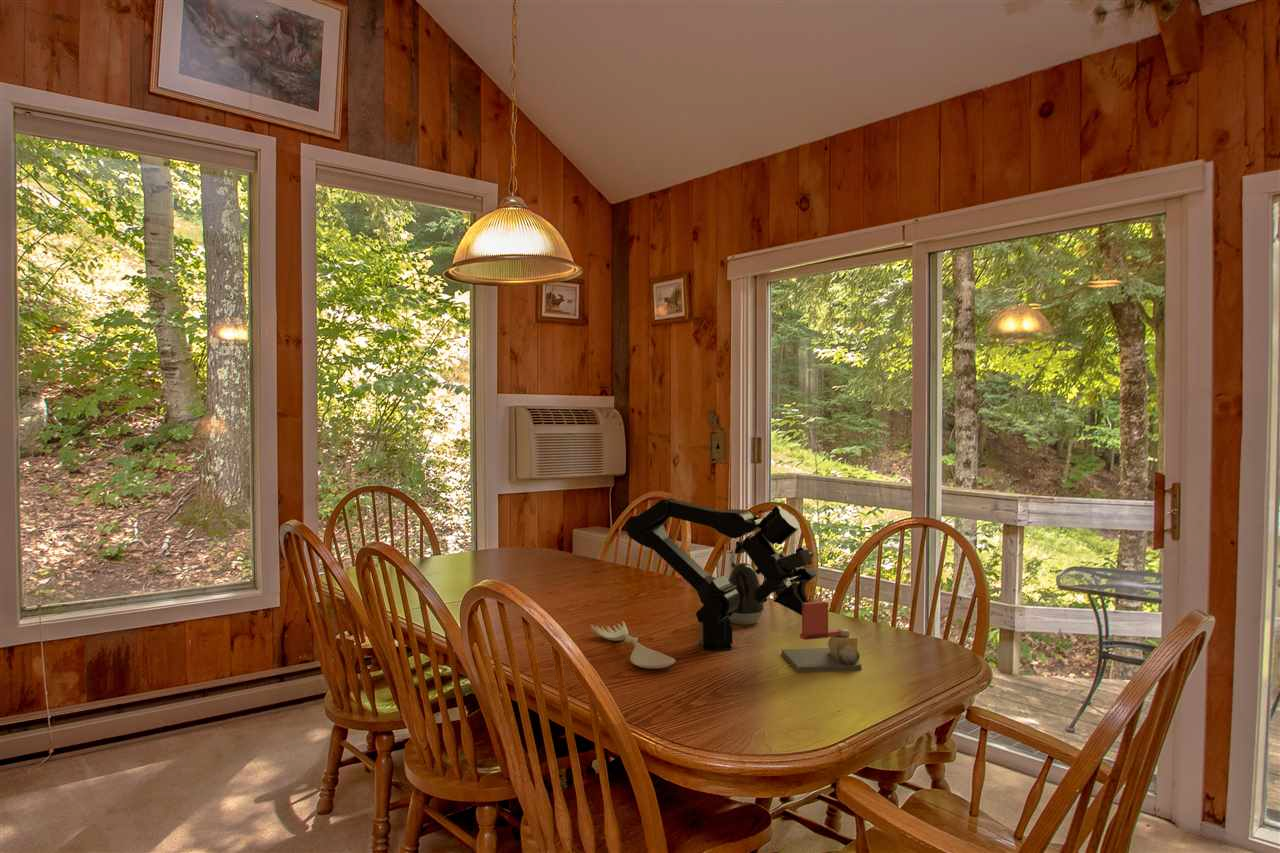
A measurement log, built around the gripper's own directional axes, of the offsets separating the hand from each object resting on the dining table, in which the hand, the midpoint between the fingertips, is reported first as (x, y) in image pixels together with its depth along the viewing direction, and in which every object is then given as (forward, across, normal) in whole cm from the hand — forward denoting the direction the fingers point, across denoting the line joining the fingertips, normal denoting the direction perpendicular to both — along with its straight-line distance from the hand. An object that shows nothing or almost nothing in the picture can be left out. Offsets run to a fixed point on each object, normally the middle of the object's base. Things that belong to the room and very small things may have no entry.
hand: (810, 616), depth 165 cm
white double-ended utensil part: (-16, -17, +33) cm, 40 cm away
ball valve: (+10, +5, +3) cm, 12 cm away
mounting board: (+8, +3, +6) cm, 11 cm away
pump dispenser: (-12, +20, +28) cm, 36 cm away
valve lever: (+5, +2, +1) cm, 5 cm away
